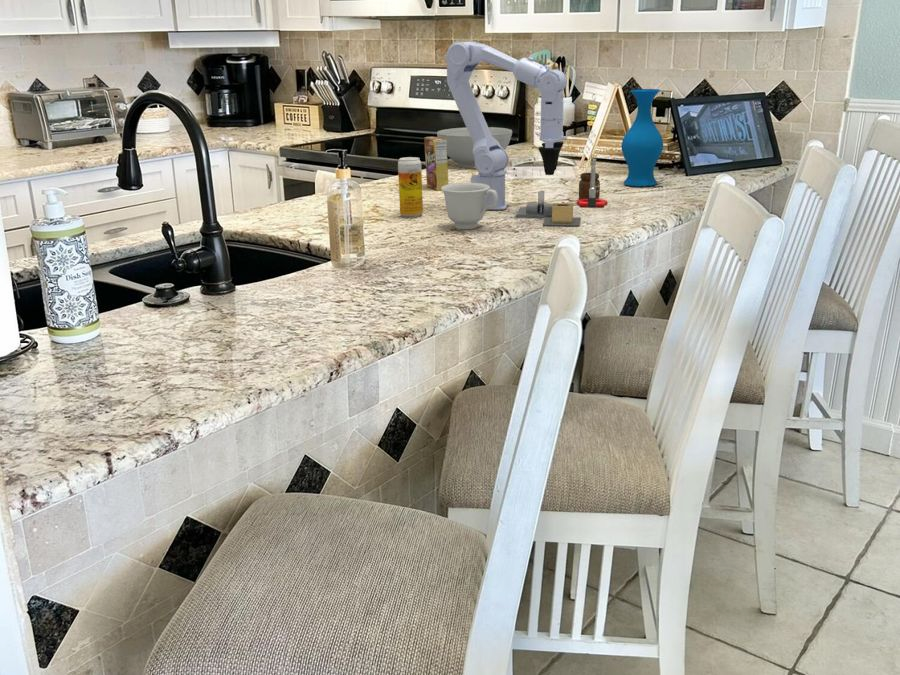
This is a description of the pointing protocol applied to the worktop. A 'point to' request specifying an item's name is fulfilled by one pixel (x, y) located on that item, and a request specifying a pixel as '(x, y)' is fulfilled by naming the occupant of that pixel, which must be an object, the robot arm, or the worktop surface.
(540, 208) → the vise
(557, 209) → the tan slotted block
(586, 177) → the utensil holder
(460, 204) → the teacup
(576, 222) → the mat
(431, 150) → the candy box
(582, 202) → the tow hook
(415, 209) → the beer can
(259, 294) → the worktop surface
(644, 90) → the vase
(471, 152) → the decorative bowl
